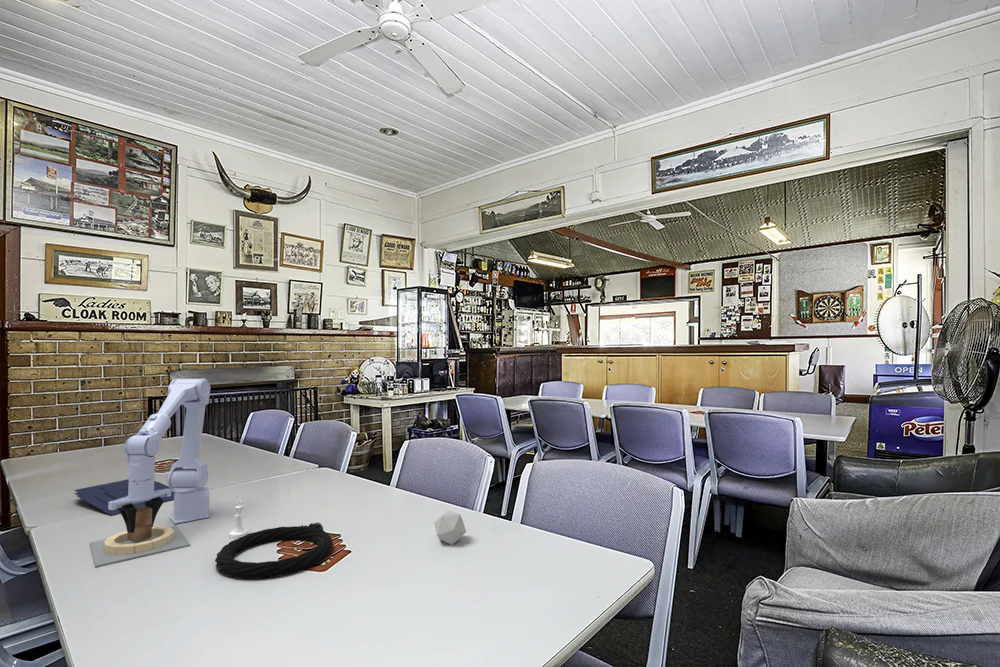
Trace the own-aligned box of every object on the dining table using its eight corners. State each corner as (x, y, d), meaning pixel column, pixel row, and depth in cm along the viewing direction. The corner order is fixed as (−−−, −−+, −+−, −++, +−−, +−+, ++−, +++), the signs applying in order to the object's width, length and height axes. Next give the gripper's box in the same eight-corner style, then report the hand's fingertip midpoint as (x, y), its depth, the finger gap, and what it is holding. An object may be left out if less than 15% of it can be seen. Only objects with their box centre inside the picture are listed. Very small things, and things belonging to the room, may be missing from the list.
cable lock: (187, 556, 119) (280, 516, 147) (187, 572, 119) (280, 529, 147) (279, 573, 110) (359, 527, 138) (279, 590, 110) (359, 541, 138)
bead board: (175, 526, 148) (176, 518, 148) (190, 545, 134) (190, 536, 134) (89, 543, 135) (89, 535, 135) (95, 567, 120) (95, 557, 120)
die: (472, 543, 137) (467, 509, 143) (458, 537, 130) (454, 502, 136) (445, 552, 139) (442, 517, 145) (431, 546, 132) (428, 510, 138)
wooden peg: (143, 534, 137) (144, 505, 137) (151, 537, 135) (152, 507, 135) (127, 539, 134) (128, 509, 134) (135, 542, 132) (135, 512, 132)
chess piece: (240, 538, 139) (240, 502, 139) (224, 537, 140) (225, 501, 140) (252, 532, 144) (252, 497, 144) (237, 531, 145) (238, 496, 145)
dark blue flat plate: (143, 482, 193) (144, 473, 193) (187, 503, 179) (188, 493, 179) (66, 499, 172) (67, 488, 171) (109, 523, 157) (110, 512, 157)
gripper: (162, 471, 143) (160, 519, 143) (103, 483, 130) (101, 535, 130) (175, 474, 140) (174, 523, 139) (116, 486, 127) (114, 540, 127)
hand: (140, 529), depth 134 cm, fingers closed on wooden peg, 4 cm apart
